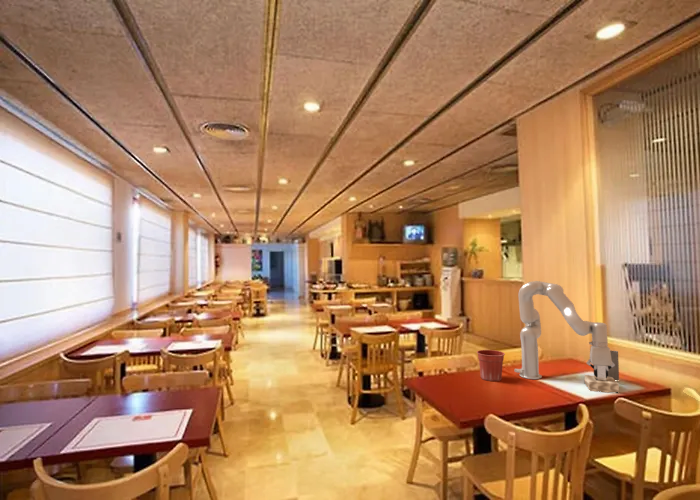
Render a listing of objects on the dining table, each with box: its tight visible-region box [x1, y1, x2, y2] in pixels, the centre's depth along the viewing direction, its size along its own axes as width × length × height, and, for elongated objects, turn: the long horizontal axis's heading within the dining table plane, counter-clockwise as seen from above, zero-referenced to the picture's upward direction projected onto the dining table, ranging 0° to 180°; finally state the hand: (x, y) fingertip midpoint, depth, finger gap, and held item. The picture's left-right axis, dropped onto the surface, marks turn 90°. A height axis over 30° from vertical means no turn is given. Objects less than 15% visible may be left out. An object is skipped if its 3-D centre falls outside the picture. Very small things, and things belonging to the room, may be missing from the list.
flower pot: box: [476, 349, 506, 382], centre depth 247 cm, size 16×16×16 cm
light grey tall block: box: [596, 365, 606, 381], centre depth 225 cm, size 4×4×11 cm
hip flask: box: [593, 349, 620, 381], centre depth 239 cm, size 16×4×20 cm, turn 100°
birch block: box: [584, 374, 620, 394], centre depth 225 cm, size 14×14×5 cm
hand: (600, 376), depth 225 cm, fingers closed on light grey tall block, 4 cm apart
